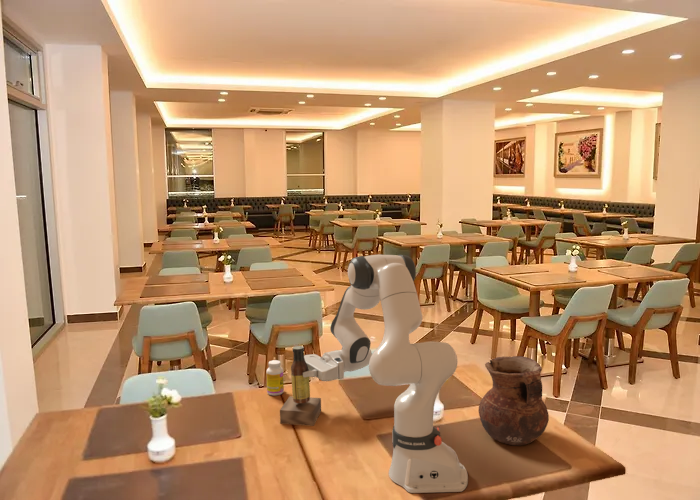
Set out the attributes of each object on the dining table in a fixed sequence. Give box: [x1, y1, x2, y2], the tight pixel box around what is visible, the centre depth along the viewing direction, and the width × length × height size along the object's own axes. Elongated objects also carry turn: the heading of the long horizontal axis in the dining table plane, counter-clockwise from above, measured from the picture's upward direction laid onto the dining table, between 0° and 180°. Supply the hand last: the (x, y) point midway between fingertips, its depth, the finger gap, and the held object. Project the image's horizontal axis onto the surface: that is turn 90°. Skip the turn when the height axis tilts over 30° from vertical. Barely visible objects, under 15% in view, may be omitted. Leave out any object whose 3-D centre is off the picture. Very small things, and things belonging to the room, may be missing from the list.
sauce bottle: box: [290, 345, 311, 404], centre depth 192 cm, size 7×6×20 cm
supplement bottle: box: [265, 359, 285, 396], centre depth 216 cm, size 7×7×13 cm
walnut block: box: [279, 395, 322, 427], centre depth 194 cm, size 12×12×5 cm
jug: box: [478, 355, 550, 447], centre depth 176 cm, size 22×21×25 cm
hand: (297, 371), depth 192 cm, fingers closed on sauce bottle, 6 cm apart
